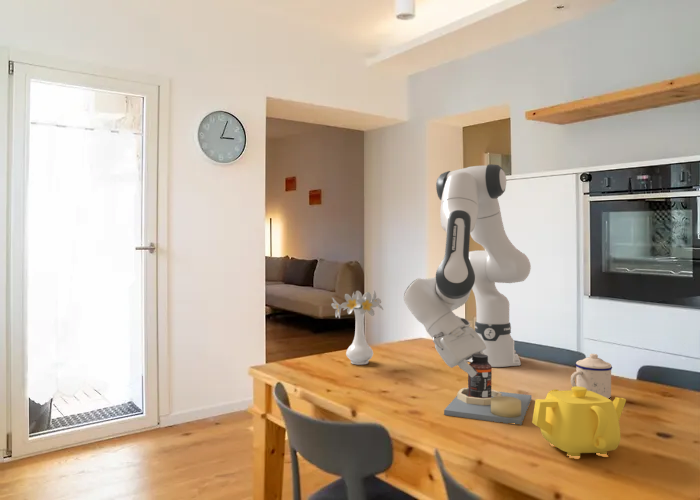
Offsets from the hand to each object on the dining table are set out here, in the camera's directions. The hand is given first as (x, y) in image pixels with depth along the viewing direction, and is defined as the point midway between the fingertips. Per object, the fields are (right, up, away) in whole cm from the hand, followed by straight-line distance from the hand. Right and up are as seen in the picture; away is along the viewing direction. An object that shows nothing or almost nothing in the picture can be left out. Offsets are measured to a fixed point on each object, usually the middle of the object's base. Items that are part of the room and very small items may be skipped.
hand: (481, 371), depth 141 cm
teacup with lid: (+31, -9, +6) cm, 32 cm away
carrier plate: (+1, -8, -3) cm, 9 cm away
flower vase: (-31, -8, +46) cm, 56 cm away
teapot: (+12, -9, -29) cm, 33 cm away
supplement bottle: (0, -7, +1) cm, 7 cm away
